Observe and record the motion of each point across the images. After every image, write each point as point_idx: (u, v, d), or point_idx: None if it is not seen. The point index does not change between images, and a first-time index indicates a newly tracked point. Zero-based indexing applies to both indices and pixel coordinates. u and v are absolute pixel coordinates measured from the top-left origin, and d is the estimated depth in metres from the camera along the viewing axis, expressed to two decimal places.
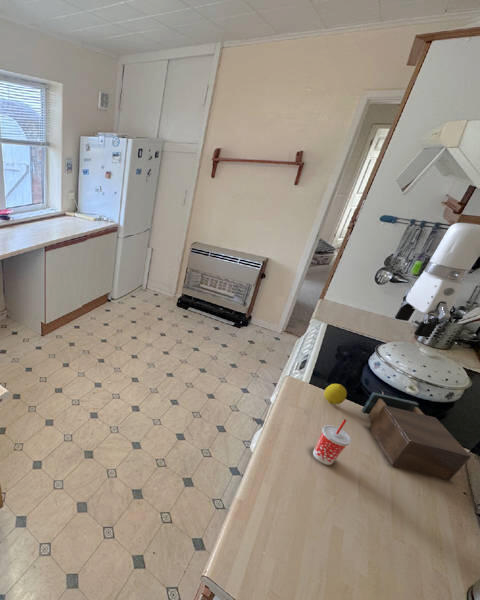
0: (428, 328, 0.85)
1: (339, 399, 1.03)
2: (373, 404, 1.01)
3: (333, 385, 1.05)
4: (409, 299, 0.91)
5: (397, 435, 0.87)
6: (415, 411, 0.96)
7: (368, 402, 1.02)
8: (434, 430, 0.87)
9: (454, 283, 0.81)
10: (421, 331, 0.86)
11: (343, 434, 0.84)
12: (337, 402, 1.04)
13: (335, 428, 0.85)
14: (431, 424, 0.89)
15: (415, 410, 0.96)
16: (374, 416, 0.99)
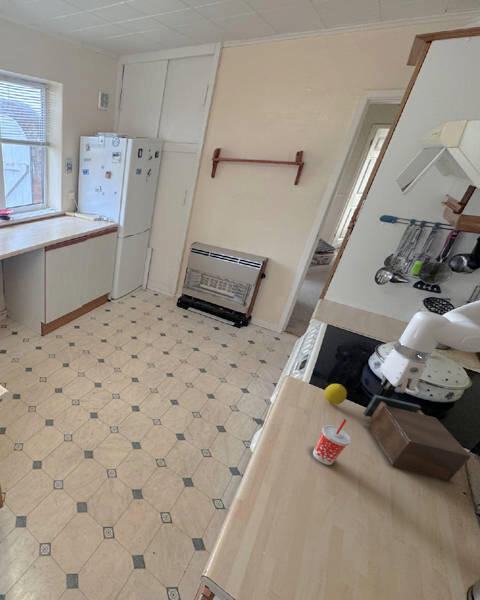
0: (387, 393, 1.02)
1: (339, 399, 1.03)
2: (375, 407, 1.00)
3: (333, 385, 1.05)
4: (382, 370, 1.04)
5: (397, 435, 0.87)
6: None
7: (370, 405, 1.01)
8: (434, 430, 0.87)
9: (418, 364, 0.93)
10: (382, 395, 1.03)
11: (343, 434, 0.84)
12: (337, 402, 1.04)
13: (335, 428, 0.85)
14: (431, 424, 0.89)
15: None
16: None
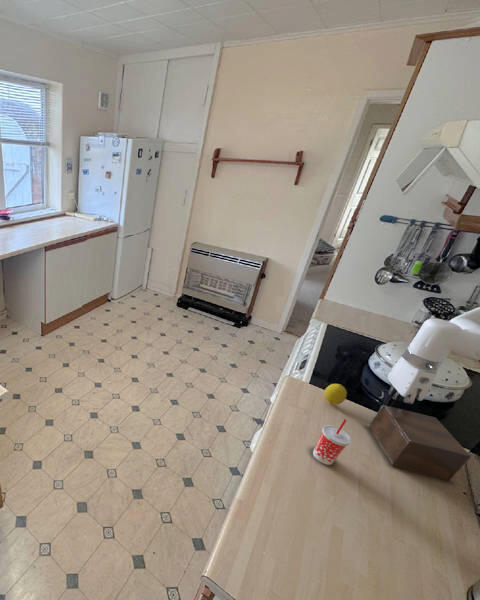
0: (395, 403, 0.98)
1: (339, 399, 1.03)
2: None
3: (333, 385, 1.05)
4: (390, 378, 1.00)
5: (397, 435, 0.87)
6: None
7: None
8: (434, 430, 0.87)
9: (428, 373, 0.89)
10: (390, 405, 0.99)
11: (343, 434, 0.84)
12: (337, 402, 1.04)
13: (335, 428, 0.85)
14: (431, 424, 0.89)
15: None
16: None
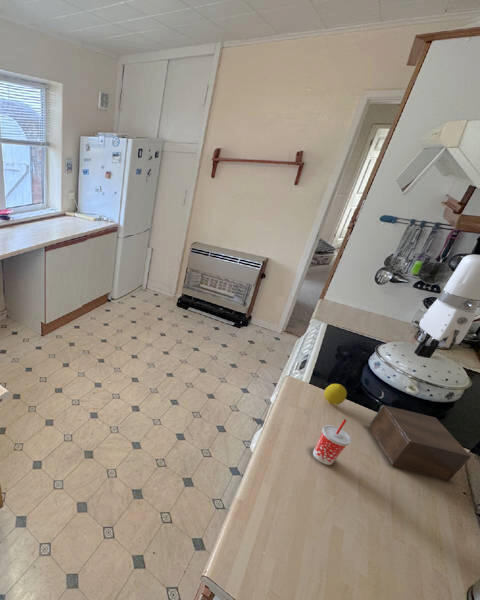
0: (429, 350, 0.93)
1: (339, 399, 1.03)
2: None
3: (333, 385, 1.05)
4: (422, 325, 0.94)
5: (397, 435, 0.87)
6: None
7: None
8: (434, 430, 0.87)
9: (467, 313, 0.84)
10: (423, 352, 0.94)
11: (343, 434, 0.84)
12: (337, 402, 1.04)
13: (335, 428, 0.85)
14: (431, 424, 0.89)
15: None
16: None
